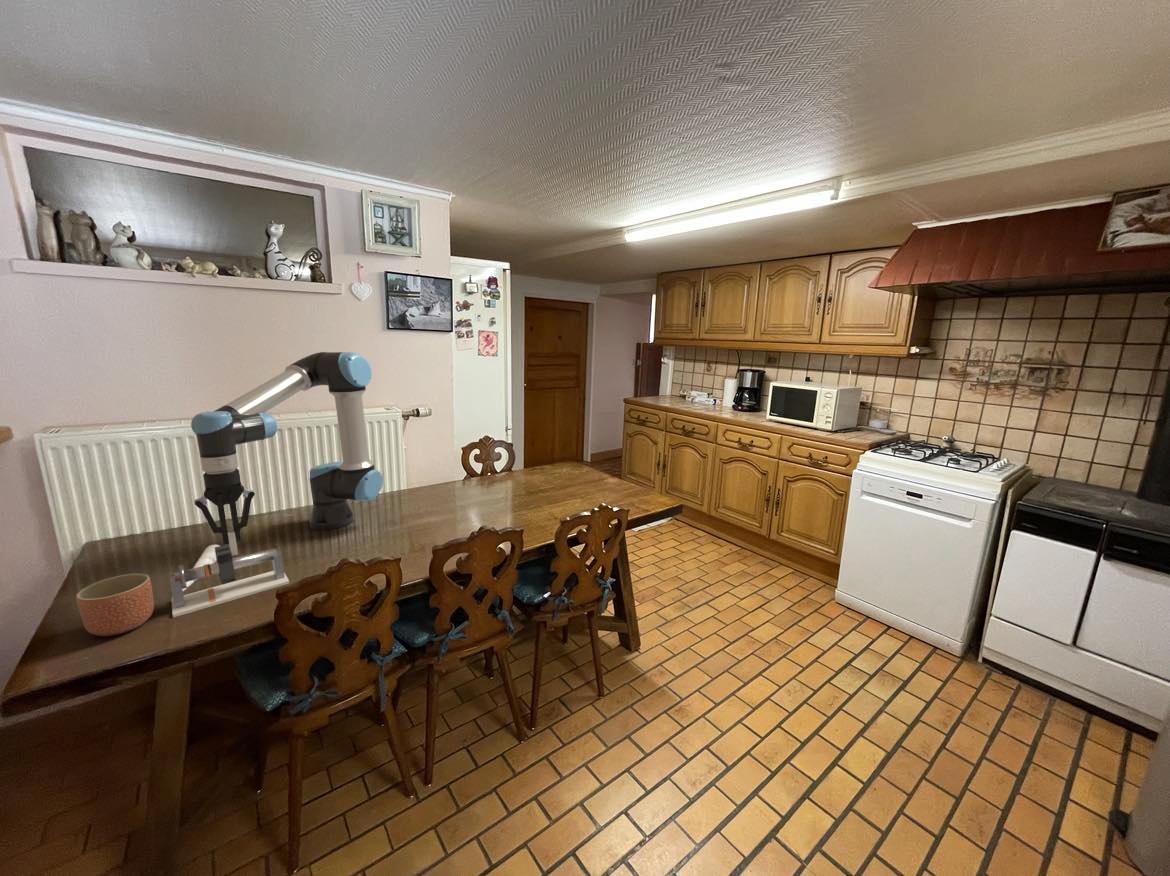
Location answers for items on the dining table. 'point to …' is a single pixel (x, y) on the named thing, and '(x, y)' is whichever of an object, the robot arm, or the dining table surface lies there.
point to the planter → (116, 604)
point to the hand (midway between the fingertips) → (234, 553)
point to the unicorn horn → (205, 560)
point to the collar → (225, 564)
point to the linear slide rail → (211, 569)
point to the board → (228, 592)
